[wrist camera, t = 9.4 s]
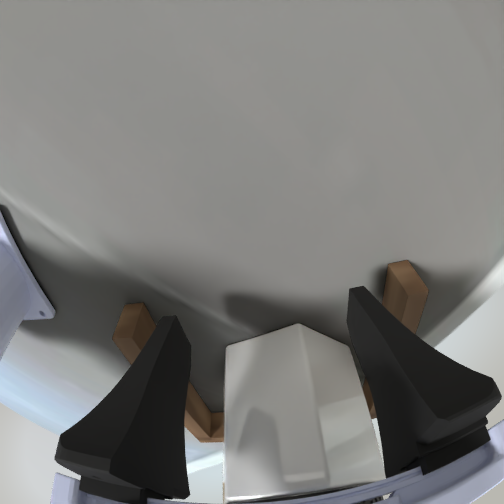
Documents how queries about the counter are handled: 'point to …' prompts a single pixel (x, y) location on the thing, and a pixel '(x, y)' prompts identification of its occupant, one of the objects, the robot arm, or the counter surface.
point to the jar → (295, 419)
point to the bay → (211, 424)
